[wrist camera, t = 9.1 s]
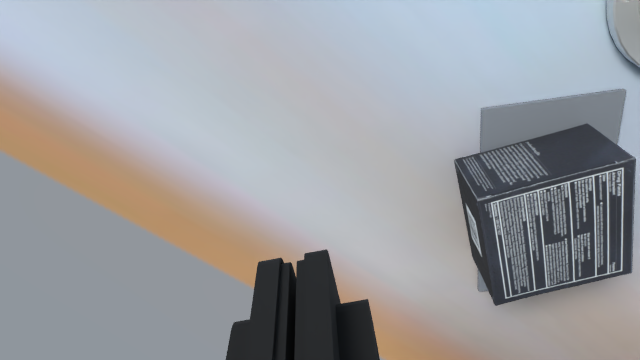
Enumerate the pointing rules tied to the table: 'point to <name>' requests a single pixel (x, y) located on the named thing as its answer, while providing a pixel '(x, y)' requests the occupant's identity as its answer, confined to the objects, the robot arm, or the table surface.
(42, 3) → the table surface
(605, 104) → the mat
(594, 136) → the small box
